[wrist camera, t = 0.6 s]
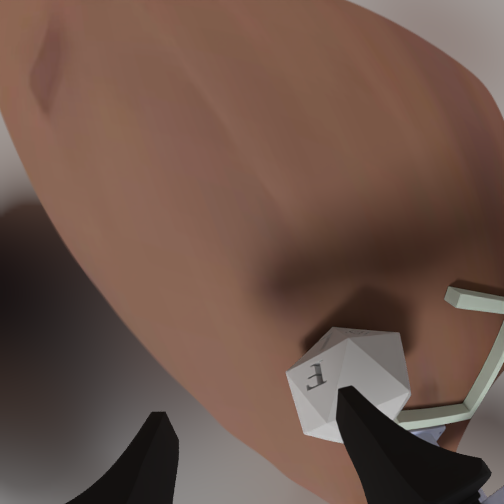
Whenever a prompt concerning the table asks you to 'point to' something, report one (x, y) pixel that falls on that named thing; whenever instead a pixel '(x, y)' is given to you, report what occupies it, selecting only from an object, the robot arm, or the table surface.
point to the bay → (499, 354)
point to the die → (348, 377)
